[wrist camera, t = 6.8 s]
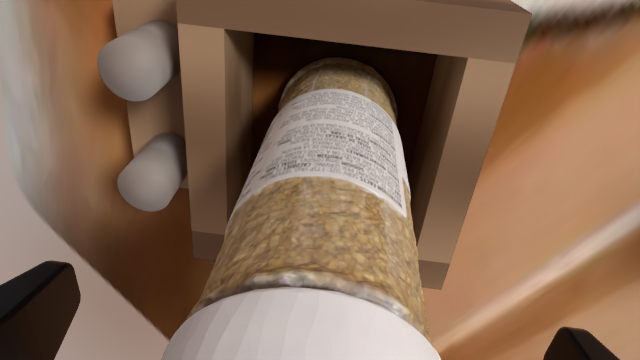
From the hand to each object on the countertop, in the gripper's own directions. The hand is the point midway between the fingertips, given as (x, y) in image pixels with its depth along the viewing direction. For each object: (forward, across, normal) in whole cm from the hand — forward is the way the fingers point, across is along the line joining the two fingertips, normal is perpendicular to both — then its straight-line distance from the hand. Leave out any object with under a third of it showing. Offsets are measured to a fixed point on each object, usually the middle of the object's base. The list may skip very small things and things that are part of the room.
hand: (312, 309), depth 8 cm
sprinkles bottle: (+10, 0, 0) cm, 10 cm away
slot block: (+10, 0, 0) cm, 10 cm away
